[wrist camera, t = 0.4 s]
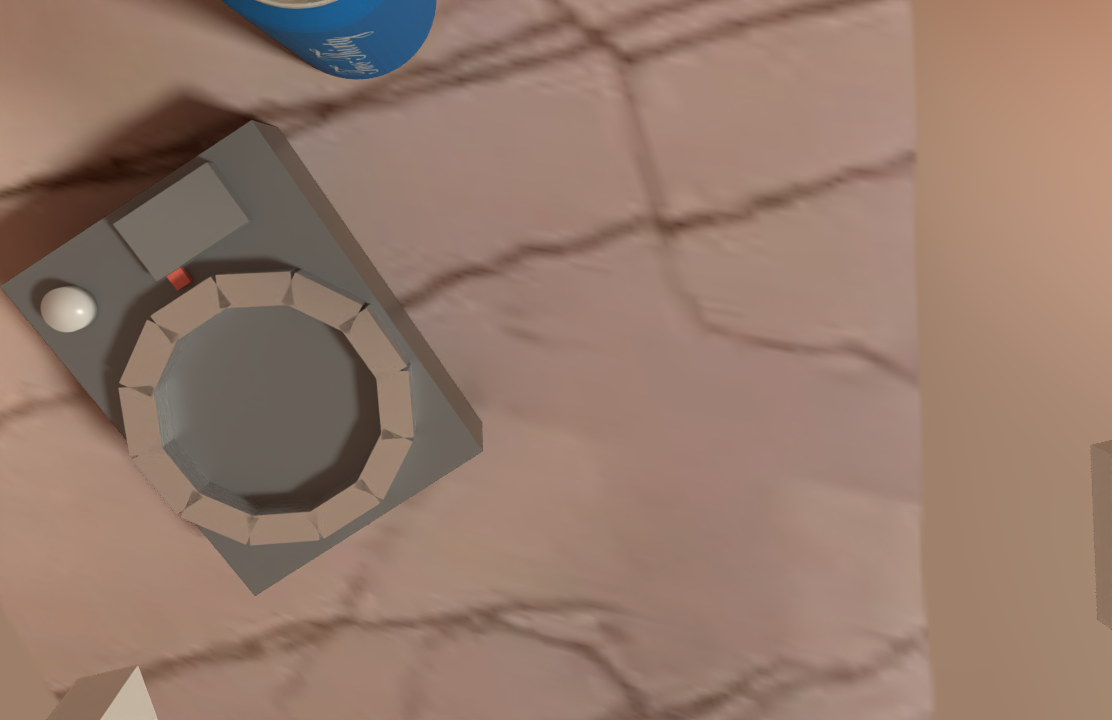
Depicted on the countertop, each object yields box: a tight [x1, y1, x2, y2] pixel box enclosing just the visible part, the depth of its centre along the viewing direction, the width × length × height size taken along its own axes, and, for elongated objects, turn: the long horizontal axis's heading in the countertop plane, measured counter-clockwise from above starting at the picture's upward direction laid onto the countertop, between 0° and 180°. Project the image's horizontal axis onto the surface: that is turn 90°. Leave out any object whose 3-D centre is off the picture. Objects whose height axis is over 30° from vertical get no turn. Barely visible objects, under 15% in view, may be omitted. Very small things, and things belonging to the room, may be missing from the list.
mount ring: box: [118, 268, 416, 545], centre depth 30 cm, size 10×10×1 cm
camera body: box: [0, 120, 483, 596], centre depth 32 cm, size 15×11×5 cm
